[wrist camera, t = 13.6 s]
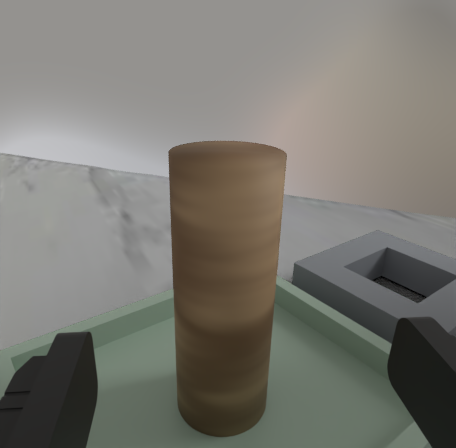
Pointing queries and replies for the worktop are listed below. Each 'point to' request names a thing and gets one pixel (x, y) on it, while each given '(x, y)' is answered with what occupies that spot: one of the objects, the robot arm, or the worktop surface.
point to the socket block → (376, 294)
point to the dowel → (224, 279)
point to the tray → (276, 391)
